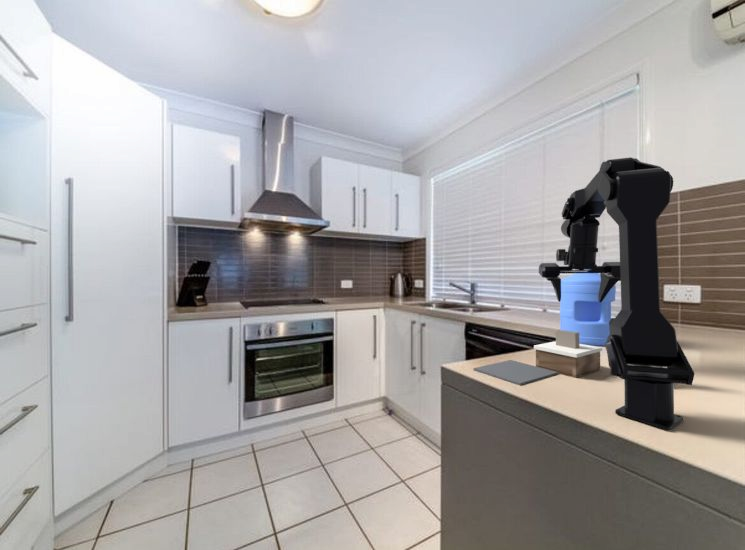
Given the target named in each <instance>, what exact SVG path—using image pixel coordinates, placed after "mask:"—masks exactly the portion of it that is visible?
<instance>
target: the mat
mask: <svg viewBox="0 0 745 550" xmlns="http://www.w3.org/2000/svg"><path fill="white" fill-rule="evenodd" d="M473 371H476V372H478V373H481V374H485V375H487V376H492V377H494V378H497V379H500V380H503V381H507V382H509V383H512V384H515V385H518V386H522V385H525V384H529V383H532V382H536V381H539V380H542V379H546V378H550V377H553V376H556V375H558V374H559V373H558V372H556V371H552V370H548V369H544V368H540V367H536V365H532V364H528V363H524V362H520V361H516V360H513V359H510V360H504V361H499V362H495V363H490V364H486V365H483V366H477V367H473Z"/></svg>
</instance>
